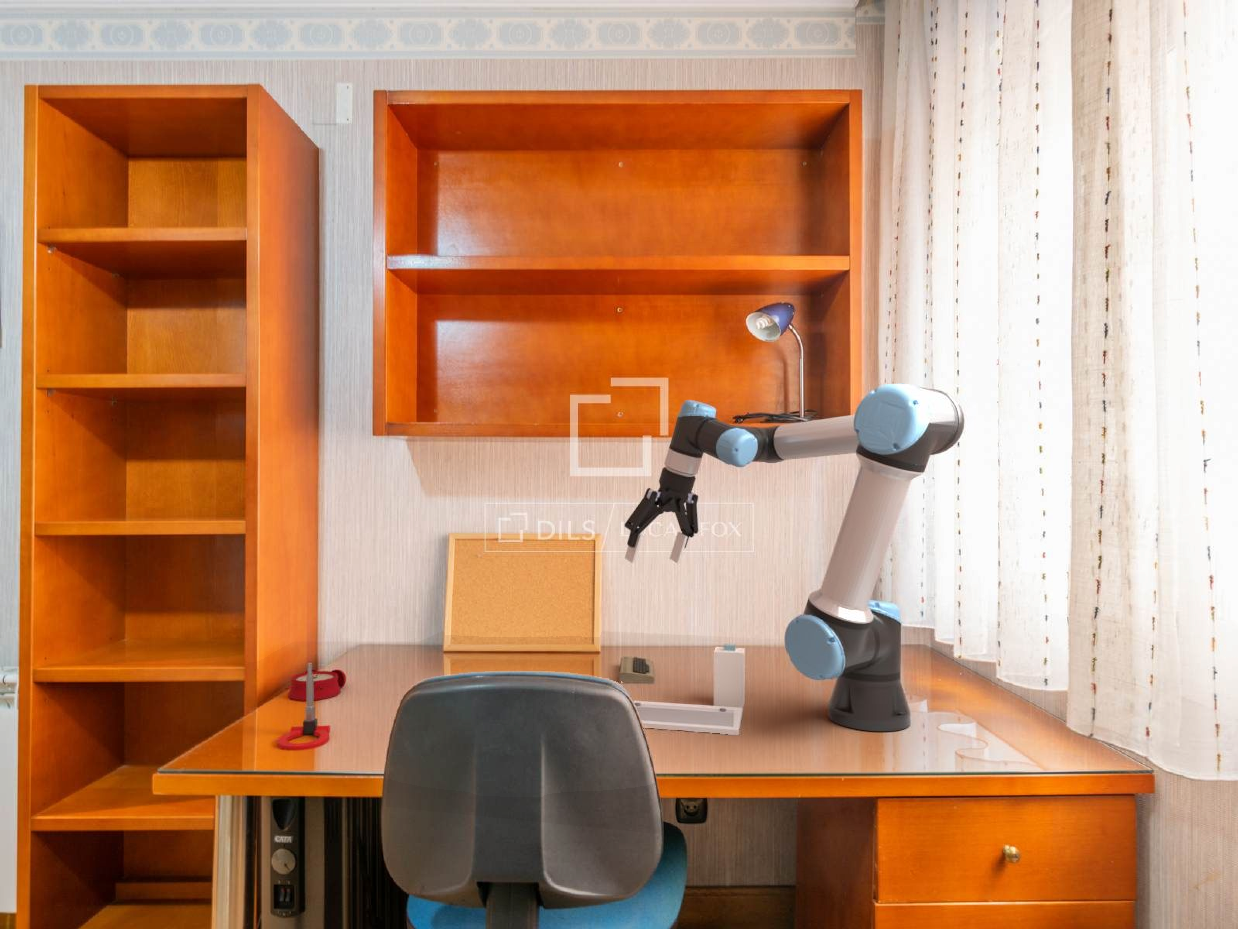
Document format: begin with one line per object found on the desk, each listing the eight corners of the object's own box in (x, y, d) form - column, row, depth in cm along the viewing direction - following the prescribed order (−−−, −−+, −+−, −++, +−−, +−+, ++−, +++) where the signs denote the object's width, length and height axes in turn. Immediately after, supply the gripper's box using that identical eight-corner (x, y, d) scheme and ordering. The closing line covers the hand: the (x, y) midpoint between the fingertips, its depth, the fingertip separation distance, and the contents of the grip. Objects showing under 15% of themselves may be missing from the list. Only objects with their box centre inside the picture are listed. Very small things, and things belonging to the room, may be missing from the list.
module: (744, 701, 163) (744, 643, 163) (743, 708, 158) (743, 648, 159) (715, 699, 164) (715, 642, 165) (713, 706, 160) (713, 647, 160)
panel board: (742, 712, 155) (742, 693, 155) (738, 735, 141) (738, 714, 141) (633, 705, 159) (633, 686, 160) (619, 726, 146) (619, 706, 146)
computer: (654, 685, 177) (654, 671, 177) (618, 685, 177) (618, 670, 177) (653, 669, 192) (653, 655, 193) (620, 668, 193) (620, 655, 193)
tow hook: (322, 752, 133) (335, 732, 142) (322, 676, 133) (335, 661, 142) (270, 754, 132) (287, 734, 141) (269, 678, 132) (286, 662, 141)
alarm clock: (277, 685, 160) (305, 653, 175) (280, 713, 161) (307, 679, 176) (328, 686, 160) (352, 653, 175) (330, 714, 162) (354, 679, 176)
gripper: (707, 469, 181) (681, 554, 185) (626, 460, 165) (599, 553, 169) (730, 480, 175) (702, 567, 180) (648, 472, 159) (619, 567, 164)
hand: (652, 560), depth 174 cm, fingers open, 13 cm apart
